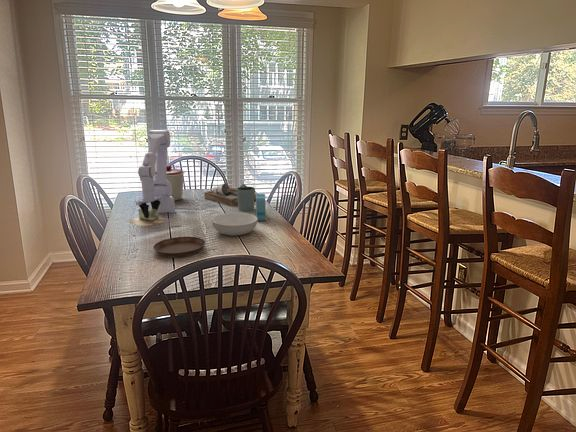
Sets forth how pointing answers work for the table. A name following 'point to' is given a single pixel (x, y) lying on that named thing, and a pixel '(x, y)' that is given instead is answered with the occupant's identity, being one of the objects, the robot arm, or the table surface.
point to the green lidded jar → (246, 198)
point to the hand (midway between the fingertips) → (150, 216)
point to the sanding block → (152, 215)
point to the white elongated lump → (224, 190)
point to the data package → (260, 207)
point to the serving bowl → (234, 223)
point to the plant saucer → (179, 246)
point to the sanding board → (146, 223)
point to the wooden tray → (223, 198)
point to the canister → (174, 181)
